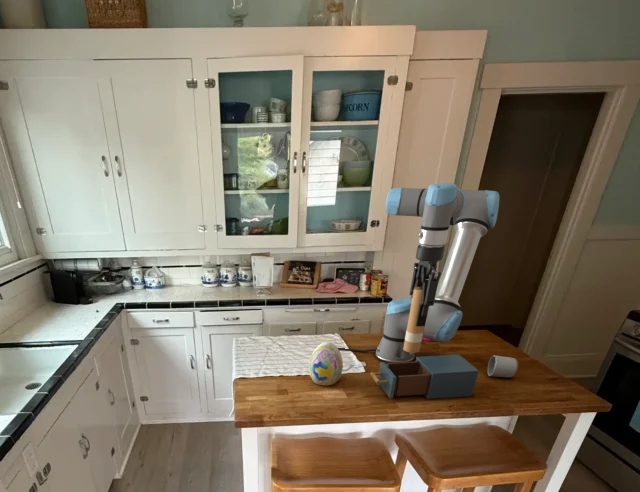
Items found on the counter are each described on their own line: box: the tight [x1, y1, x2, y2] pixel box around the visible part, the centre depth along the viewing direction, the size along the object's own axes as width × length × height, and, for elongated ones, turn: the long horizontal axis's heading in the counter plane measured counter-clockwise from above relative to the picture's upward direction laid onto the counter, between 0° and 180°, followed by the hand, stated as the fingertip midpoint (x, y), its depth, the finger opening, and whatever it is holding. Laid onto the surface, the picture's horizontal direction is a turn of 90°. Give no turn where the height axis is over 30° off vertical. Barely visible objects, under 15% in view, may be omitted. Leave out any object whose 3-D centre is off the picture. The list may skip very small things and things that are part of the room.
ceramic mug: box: [487, 354, 519, 378], centre depth 157 cm, size 11×8×8 cm
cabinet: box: [415, 354, 479, 400], centre depth 148 cm, size 16×14×10 cm
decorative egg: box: [308, 341, 344, 387], centre depth 154 cm, size 12×12×15 cm
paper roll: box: [403, 287, 424, 354], centre depth 136 cm, size 5×5×20 cm
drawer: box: [369, 360, 432, 399], centre depth 147 cm, size 19×12×8 cm, turn 95°
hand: (416, 322), depth 136 cm, fingers closed on paper roll, 5 cm apart
